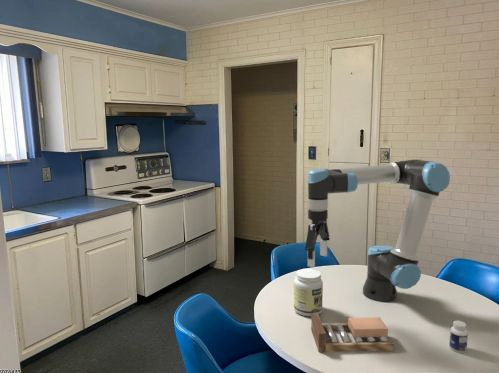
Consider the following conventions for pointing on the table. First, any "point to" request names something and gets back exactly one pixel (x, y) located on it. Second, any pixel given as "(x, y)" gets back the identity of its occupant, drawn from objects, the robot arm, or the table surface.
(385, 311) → the table surface
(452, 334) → the pill bottle
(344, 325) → the frame
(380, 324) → the slab
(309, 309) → the supplement tub
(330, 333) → the roller bed
